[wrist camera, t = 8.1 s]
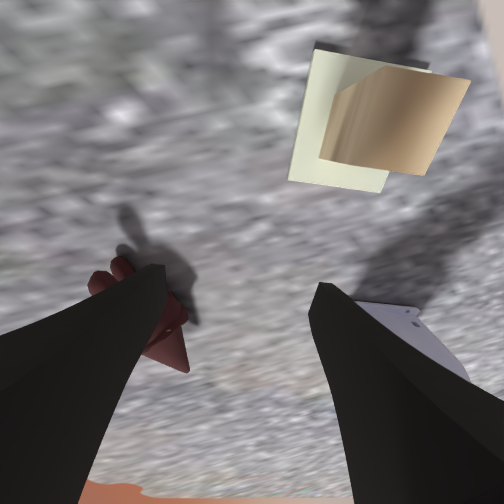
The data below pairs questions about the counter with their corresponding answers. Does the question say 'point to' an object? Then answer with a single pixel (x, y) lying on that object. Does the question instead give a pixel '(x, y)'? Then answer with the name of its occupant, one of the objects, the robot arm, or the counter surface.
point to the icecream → (168, 329)
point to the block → (392, 120)
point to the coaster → (316, 117)
